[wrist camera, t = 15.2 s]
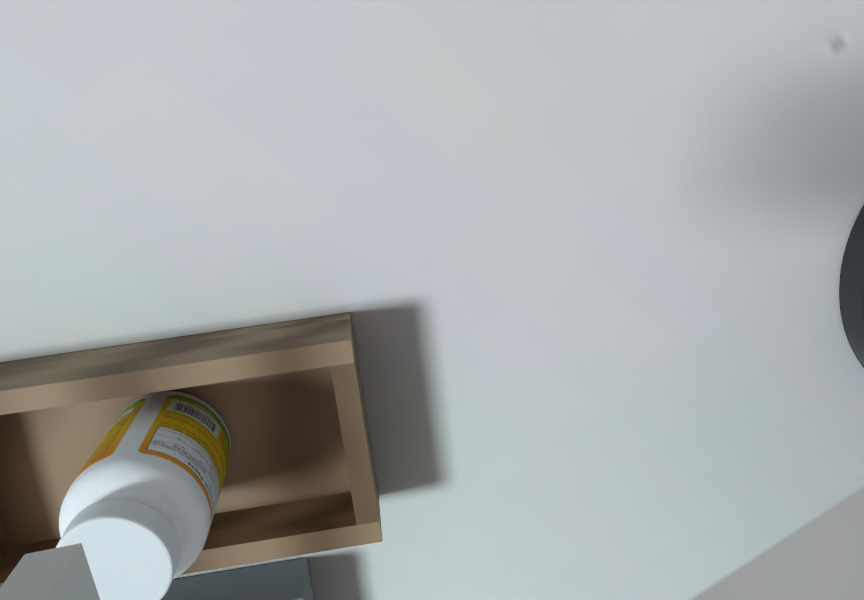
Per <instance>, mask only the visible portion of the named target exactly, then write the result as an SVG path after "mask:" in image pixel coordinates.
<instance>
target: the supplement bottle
mask: <svg viewBox="0 0 864 600" xmlns="http://www.w3.org/2000/svg"><path fill="white" fill-rule="evenodd" d="M230 456H231V439H230V435H229V431H228V429H227V426H226V424H225V422H224V421H223V419H222V418H221V416H220V415H219V414H218V413H217V412H216V411H215V410H214V409H213V408H212V407H211V406H210V405H209V404H207V403H206V402H205V401H203V400H201V399H199V398H197V397H195V396H192V395H190V394H186V393H182V392H174V391H164V392H156V393H152V394H149V395H146V396H143V397H141V398H139V399H137V400H135V401H134V402H132V403H131V404H130V405H128V406H127V407H126V408H125V409H124V410H123V411H122V412H121V413H120V414H119V415H118V417H117V418H116V419H115V421H114V422H113V424H112V425H111V427H110V428H109V430H108V431H107V433H106V434H105V436H104V437H103V439H102V440H101V442H100V443H99V445H98V446H97V448H96V449H95V451H94V452H93V454H92V455H91V457H90V458H89V459H88V461H87V463H86V464H85V466H84V467H83V468H82V470H81V471H80V473H79V474H78V476H77V477H76V479H75V480H74V482H73V483H72V485H71V486H70V488H69V490H68V492H67V494H66V496H65V498H64V500H63V502H62V505H61V509H60V515H59V532H60V537H61V539H60V541H59V542H58V544H57V546H56V548H59V547H64V546H69V545H74V544H79V543H82V546H83V549H84V552H85V555H86V558H87V561H88V564H89V567H90V570H91V573H92V576H93V579H94V582H95V585H96V588H97V591H98V595H99V598H100V600H161V599H162V598H163V597H164V595H165V594H166V592H167V591H168V589H169V587H170V585H171V583H172V580H173V579H175V578H177V577H178V576H179V575H181V574H182V573H184V572H185V571H186V570H187V569H188V568H189V567H190V566H191V565H192V564H193V563H194V562H195V560H196V559H197V558H198V556H199V555H200V553H201V551H202V549H203V547H204V544H205V542H206V539H207V536H208V533H209V530H210V526H211V523H212V519H213V516H214V513H215V509H216V505H217V502H218V499H219V495H220V492H221V489H222V485H223V482H224V479H225V475H226V472H227V469H228V465H229V461H230Z"/></svg>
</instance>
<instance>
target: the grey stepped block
mask: <svg viewBox="0 0 864 600" xmlns="http://www.w3.org/2000/svg"><path fill="white" fill-rule="evenodd" d="M161 600H314V595H313V590H312V585H311V579H310V574H309V569H308V563H307V558H300V559H294V560H288V561H282V562H276V563H270V564H264V565H258V566H252V567H246V568H240V569H234V570H228V571H222V572H215V573H209V574H203V575H197V576H191V577H185V578H179V579H173V580H172V583H171V585H170V587H169V589H168V591H167V592H166V594H165V595H164V597H163V598H162V599H161Z"/></svg>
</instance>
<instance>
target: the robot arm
mask: <svg viewBox="0 0 864 600" xmlns="http://www.w3.org/2000/svg"><path fill="white" fill-rule="evenodd" d="M839 300H840V311H841V317H842V322H843V326H844V330H845V333H846V336H847V339H848V341H849V344H850V346H851V348H852V350H853V352H854V354H855V356H856V357H857V359H858V360H859V362H860V363H861V365H862V366H863V368H864V206H863V207H862V209H861V211H860V213H859V215H858V217H857V219H856V221H855V223H854V226H853V228H852V230H851V233H850V236H849V239H848V242H847V245H846V249H845V252H844V256H843V261H842V266H841V274H840V286H839ZM0 600H100V598H99V595H98V591H97V588H96V585H95V582H94V579H93V576H92V573H91V570H90V567H89V564H88V561H87V558H86V555H85V552H84V549H83V546H82V543H79V544H74V545H69V546H64V547H59V548H54V549H49V550H44V551H38V552H33V553H28V554H24V556H23V557H22V559H21V560H20V561H19V563H18V564H17V565H16V567H15V568H14V570H13V571H12V572H11V574H10V575H9V576H8V578H7V579H6V581H5V582H4V583H3V585H2V586H1V587H0Z"/></svg>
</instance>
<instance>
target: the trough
mask: <svg viewBox="0 0 864 600" xmlns="http://www.w3.org/2000/svg"><path fill="white" fill-rule="evenodd" d="M164 391H174V392H182V393H186V394H190V395H192V396H195V397H197V398H199V399H201V400H203V401H205V402H206V403H207V404H209V405H210V406H211V407H212V408H213V409H214V410H215V411H216V412H217V413H218V414H219V415H220V416H221V418H222V419H223V421H224V422H225V424H226V426H227V429H228V431H229V435H230V439H231V456H230V461H229V465H228V469H227V472H226V475H225V479H224V482H223V485H222V489H221V492H220V495H219V499H218V502H217V505H216V509H215V513H214V516H213V519H212V523H211V526H210V530H209V533H208V536H207V539H206V542H205V544H204V547H203V549H202V551H201V553H200V555H199V556H198V558H197V559H196V560H195V562H194V563H193V564H192V565H191V566H190V567H189V568H188V569H187V570H186V571H185V572H184V573H182V574H187V573H193V572H199V571H205V570H211V569H217V568H223V567H229V566H235V565H241V564H248V563H254V562H260V561H266V560H272V559H278V558H284V557H290V556H296V555H302V554H308V553H314V552H320V551H327V550H333V549H339V548H345V547H351V546H357V545H363V544H369V543H375V542H381V541H382V532H381V519H380V507H379V495H378V489H377V482H376V476H375V469H374V463H373V456H372V450H371V443H370V437H369V430H368V424H367V417H366V411H365V404H364V398H363V392H362V385H361V379H360V372H359V366H358V359H357V353H356V346H355V340H354V333H353V327H352V320H351V314H350V312H349V313H342V314H335V315H328V316H321V317H314V318H307V319H301V320H294V321H287V322H280V323H273V324H266V325H259V326H252V327H245V328H238V329H231V330H224V331H217V332H210V333H203V334H196V335H189V336H183V337H176V338H169V339H162V340H155V341H148V342H141V343H134V344H127V345H120V346H113V347H106V348H99V349H92V350H85V351H78V352H72V353H65V354H58V355H51V356H44V357H37V358H30V359H23V360H16V361H9V362H2V363H0V587H1V586H2V585H3V583H4V582H5V581H6V579H7V578H8V576H9V575H10V574H11V572H12V571H13V570H14V568H15V567H16V565H17V564H18V563H19V561H20V560H21V559H22V557H23V556H24V554H28V553H33V552H38V551H44V550H49V549H54V548H56V546H57V544H58V542H59V541H60V539H61V537H60V532H59V515H60V509H61V505H62V502H63V500H64V498H65V496H66V494H67V492H68V490H69V488H70V486H71V485H72V483H73V482H74V480H75V479H76V477H77V476H78V474H79V473H80V471H81V470H82V468H83V467H84V466H85V464H86V463H87V461H88V459H89V458H90V457H91V455H92V454H93V452H94V451H95V449H96V448H97V446H98V445H99V443H100V442H101V440H102V439H103V437H104V436H105V434H106V433H107V431H108V430H109V428H110V427H111V425H112V424H113V422H114V421H115V419H116V418H117V417H118V415H119V414H120V413H121V412H122V411H123V410H124V409H125V408H126V407H127V406H128V405H130V404H131V403H132V402H134V401H135V400H137V399H139V398H141V397H143V396H146V395H149V394H152V393H156V392H164Z"/></svg>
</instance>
